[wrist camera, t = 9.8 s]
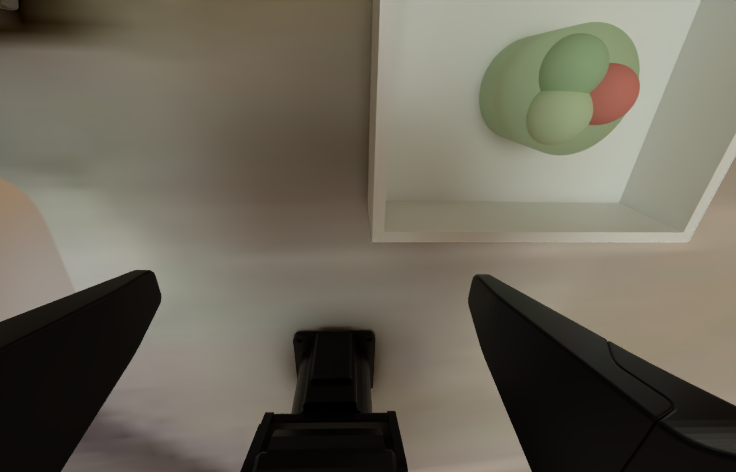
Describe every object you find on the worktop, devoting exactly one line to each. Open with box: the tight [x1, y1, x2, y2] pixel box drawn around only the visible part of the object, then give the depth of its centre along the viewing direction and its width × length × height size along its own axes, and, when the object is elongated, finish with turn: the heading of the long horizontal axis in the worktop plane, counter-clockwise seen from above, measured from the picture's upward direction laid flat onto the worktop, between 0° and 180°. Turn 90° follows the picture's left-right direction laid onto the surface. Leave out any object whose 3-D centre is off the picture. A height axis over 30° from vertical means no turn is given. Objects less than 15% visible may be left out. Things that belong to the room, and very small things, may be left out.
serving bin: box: [368, 0, 736, 242], centre depth 16 cm, size 14×17×5 cm
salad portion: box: [479, 22, 640, 156], centre depth 15 cm, size 5×5×6 cm
